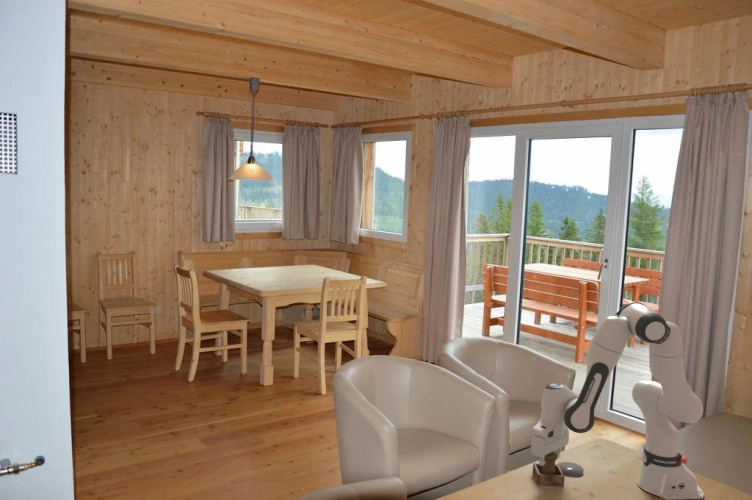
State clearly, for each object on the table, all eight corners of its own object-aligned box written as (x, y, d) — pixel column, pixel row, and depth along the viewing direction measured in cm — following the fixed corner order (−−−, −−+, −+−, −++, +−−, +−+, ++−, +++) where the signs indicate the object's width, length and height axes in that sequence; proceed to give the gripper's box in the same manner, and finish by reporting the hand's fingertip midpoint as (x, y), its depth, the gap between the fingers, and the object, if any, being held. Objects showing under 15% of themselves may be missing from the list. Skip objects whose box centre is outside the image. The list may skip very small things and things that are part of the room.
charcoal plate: (579, 465, 247) (579, 462, 247) (586, 477, 237) (586, 474, 237) (554, 463, 247) (554, 461, 247) (560, 475, 237) (560, 473, 237)
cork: (556, 484, 230) (558, 456, 229) (539, 482, 231) (542, 454, 230) (555, 477, 236) (557, 449, 235) (539, 474, 237) (541, 447, 236)
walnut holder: (557, 474, 238) (558, 464, 238) (563, 486, 229) (564, 476, 228) (532, 472, 239) (533, 462, 238) (537, 485, 229) (538, 474, 229)
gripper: (559, 417, 240) (557, 451, 242) (529, 430, 227) (526, 465, 228) (574, 422, 236) (571, 457, 237) (544, 435, 222) (541, 472, 224)
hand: (549, 461), depth 233 cm, fingers open, 8 cm apart
